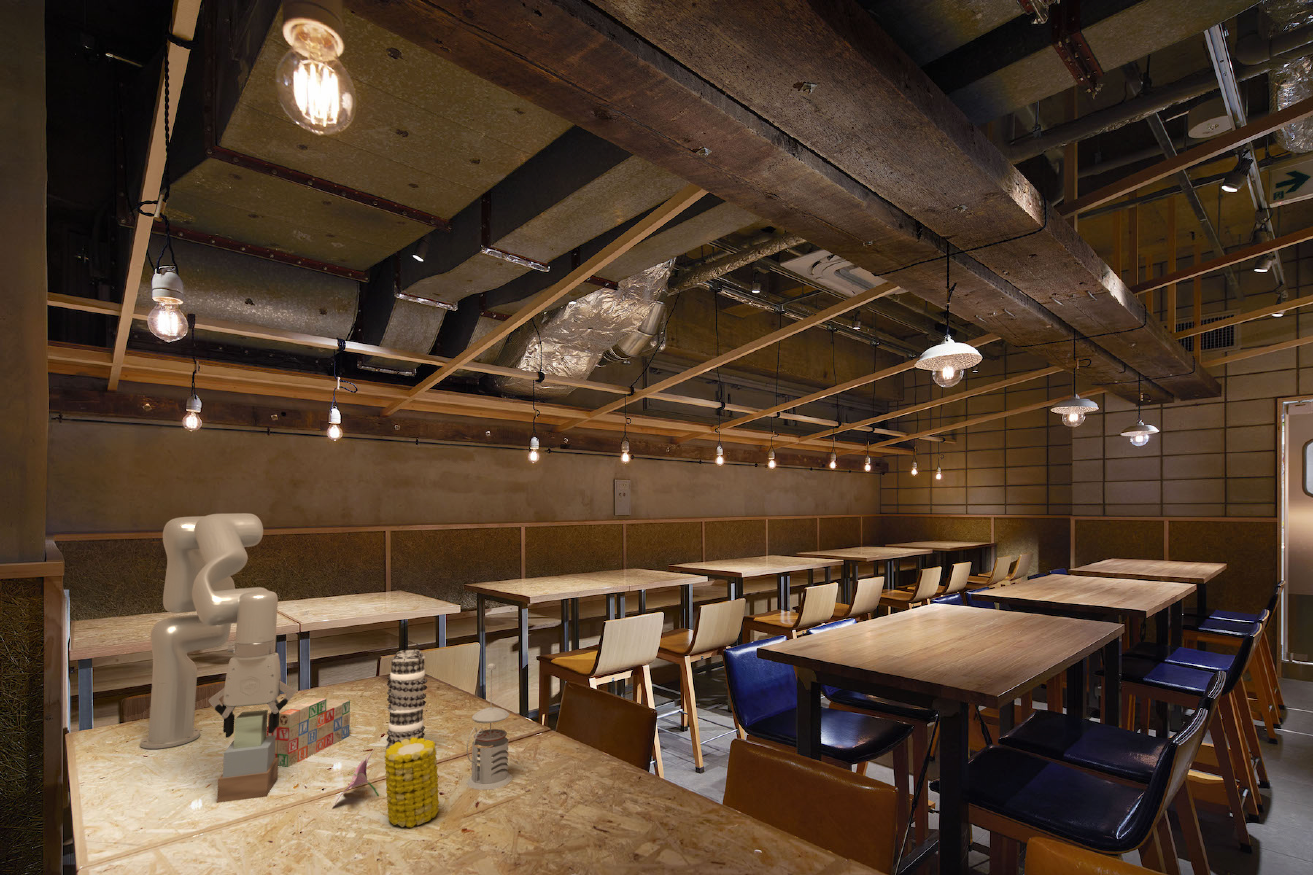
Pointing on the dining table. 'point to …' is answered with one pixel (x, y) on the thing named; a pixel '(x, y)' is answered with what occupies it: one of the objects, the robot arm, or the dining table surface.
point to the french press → (489, 750)
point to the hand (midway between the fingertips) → (251, 732)
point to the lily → (359, 776)
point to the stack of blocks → (309, 728)
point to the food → (411, 782)
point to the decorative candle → (406, 696)
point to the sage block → (250, 729)
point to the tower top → (249, 759)
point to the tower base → (247, 785)
